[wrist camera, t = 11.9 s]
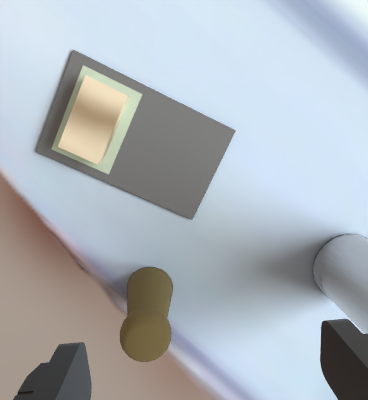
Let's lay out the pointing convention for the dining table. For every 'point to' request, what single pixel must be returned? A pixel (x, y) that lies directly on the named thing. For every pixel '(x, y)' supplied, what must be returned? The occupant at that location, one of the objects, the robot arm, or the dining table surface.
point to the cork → (147, 315)
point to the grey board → (143, 141)
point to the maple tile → (93, 120)
